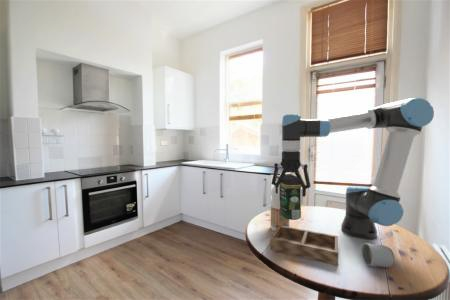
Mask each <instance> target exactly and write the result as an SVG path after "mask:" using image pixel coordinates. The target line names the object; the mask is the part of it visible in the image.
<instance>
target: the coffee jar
mask: <svg viewBox="0 0 450 300" xmlns="http://www.w3.org/2000/svg"><path fill="white" fill-rule="evenodd" d="M301 188H302V186H301V179H300V178H299V177H297V176H296V175H295V174H294V175H293V174H292V173H285V175H284V176H283V177H282V178H281V182H280V214H281V215H282V216H283V217H284V218H285V219H289V221H296V220H299V219H301V218H302V209H301V208H302V205H301V204H300V189H301Z"/></svg>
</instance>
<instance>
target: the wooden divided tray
mask: <svg viewBox="0 0 450 300" xmlns="http://www.w3.org/2000/svg"><path fill="white" fill-rule="evenodd" d="M269 250H270V251H273V252H276V253H282V254H285V255H286V254H287V255H291V256H294V257H295V256H296V257H300V258H303V259H307V260H310V261H311V260H312V261H315V262H319V263H320V262H321V263H323V264H329V265H332V266H336V267H338V266H339V236H338V235H334V234H331V233H329V234H328V233H323V232H319V231H313V230H307V229H302V228H298V227H290V226H289V227H286V226H280V225H279V226H278V227H277V229H276V230H275V231H273V233H272V235H271V236H270V238H269Z"/></svg>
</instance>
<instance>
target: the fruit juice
mask: <svg viewBox="0 0 450 300" xmlns="http://www.w3.org/2000/svg"><path fill="white" fill-rule="evenodd" d="M280 175H281V174H277V178H276V182H277V181H278V179H279V177H280ZM279 186H280V184H279ZM270 196H271V201H270V229H271V230H272V231H273V232H275V230H276V229H277V227H278V226H279V225H280V226H286V227H290V219H285V218H284V217H283V216H282V215H281V214H280V202H278V194H277V193H276V186H275V185H273V187H272V189H271V191H270Z"/></svg>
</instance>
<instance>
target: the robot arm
mask: <svg viewBox="0 0 450 300" xmlns="http://www.w3.org/2000/svg"><path fill="white" fill-rule="evenodd" d="M434 116H435V111H434V108H433V106H432V104H431V103H430V102H429V101H428V100H426V99H425V98H421V97H413V98H412V97H410V98H405V99H401V100H398V101H393V102H388V103H385V104H382V105H380V106H376V107H372V108H368V109H367V108H366V109H365V110H364V111H361V112H355V113H348V114H343V115H336V116H331V117H324V118H323V117H322V118H316V119H315V118H314V119H311V118H310V119H309V118H308V119H304V118H302V117H301V114H298V113H290V114H288V113H287V114H285V115H283V116H282V121H281V122H282V123H281V124H282V125H281V135H282V136H281V137H282V138H281V150H282V151H281V161H280V162H275V163H274V169H273V175H272V178H271V185H272V186H274V185H275V186H276V193H277V194H278V202H280V186H279V184H280V182H281V178H282V177H283V176H284V175H285V174H287V173H291V174H292V173H294V175H295V176H296V177H299V178H300V179H301V189H300V204H301V206H302V205H303V204H304V197H306V195H307V189H309V188H311V181H310V176H309V173H308V167H309V165H308V164H307V163H302V162H301V151H300V150H301V138H319V137H320V138H326V137H328V136H329V135H330V134H332V133H338V132H346V131H351V130H358V129H363V128H365V129H368V130H370V129H385V130H386V131H387V132H388V135H387V138H386V142H385V145H384V149H383V150H382V151H383V152H382V155H381V159H380V162H379V164H378V165H379V166H378V168H377V172H376V175H375V178H374V181H373V185H372V186H358V185H357V186H355V185H353V186H348V187H347V188H346V191H345V216H344V218H343V219H342V223H341V226H340V227H341V228H340V229H341V231H342V232H343V233H344V234H346V235H348V236H350V237H353V238H358V239H363V240H364V239H365V240H374V239H375V238H377V236H378V231H377V227H376V225H375V224H377V225H379V226H382V227H391V226H394V225H396V224H398V223H400V221H401V220H402V218H403V216H404V211H405V210H404V208H403V206H402V204H401V203H400V200H401V195H400V194H399V193H398V190H399V187H400V184H401V181H402V178H403V174H404V172H405V168H406V165H407V161H408V158H409V154H410V153H411V152H410V151H411V149H412V145H413V142H414V139H415V137H416V136H418V135H420V134H421V132H422V129H423V127H425V126H428V124H430V123H432V121H433V119H434ZM281 167H282V171H281V174H278V173H279V169H280V168H281ZM300 168H301V169H302V170H303V175H304V179H305V182H304V179H303V178H302V177H303V176H302V174H300V173H301V172H300V171H299V169H300ZM277 175H280V177H279V179H278V181H277V182H276V178H277Z"/></svg>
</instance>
